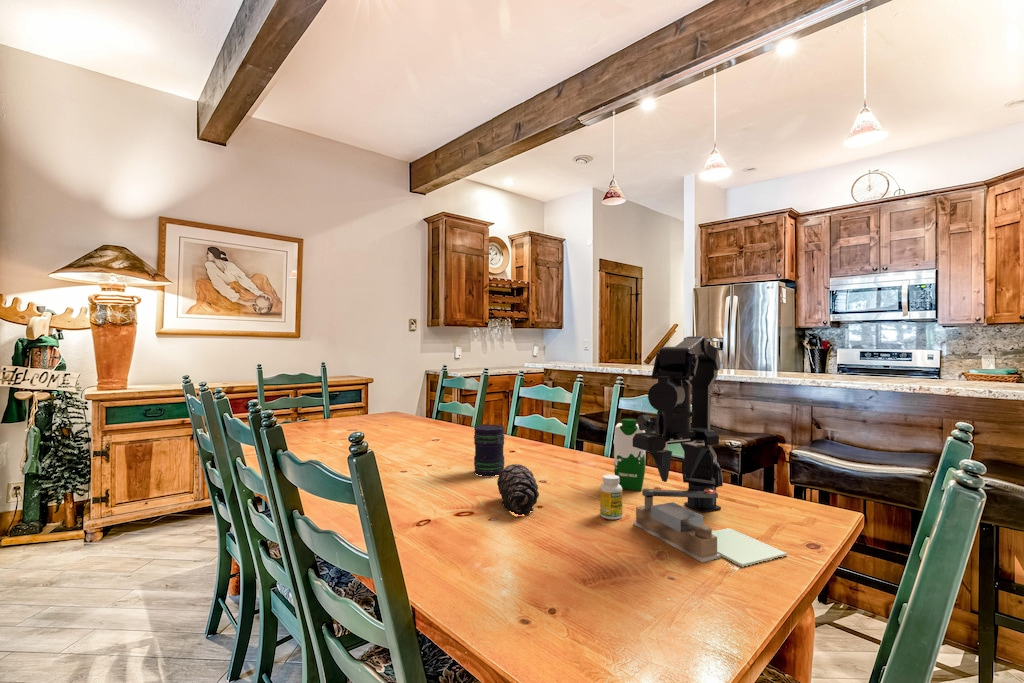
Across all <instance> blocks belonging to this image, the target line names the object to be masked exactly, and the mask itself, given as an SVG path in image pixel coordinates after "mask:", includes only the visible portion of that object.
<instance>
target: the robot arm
mask: <svg viewBox="0 0 1024 683" xmlns="http://www.w3.org/2000/svg"><path fill="white" fill-rule="evenodd" d="M707 338H708V337H705V336H700V335H699V336H696V335H695V336H686V337H684V338H683V340H682V341H681V342H679V343H678V344H677V345H675V346H661V347H660V348H659V350H658V351H656V354H655V360H654V364H653V368H652V374H651V380H657V382H656V383H654V384H653V385H652V386H651V387H650V388H649V389H648V393H647V399H648V402H649V405H650V406H651V407H652V408H653V409H655V410H657V413H656V416H655V417H651V416H650V415H649V414H641V415H638V418H637V419H638V420H637V424H638V427H639V429H640V430H641V431H642V430H645V433H636V434H635V435H634V437H633V447H636V448H639V449H642V450H645V452H648V453H649V454H650V455H651V456H652V459H653V460H654V462H655V465H656V468H657V471H658V473H659V474H658V475H659V476H660V479H661V481H662V482H664V483H666V482H667V481H668V479H669V475H670V474H669V473H670V466H671V463H672V462H671V461H672V456H673V451H671V450H668V445H674V444H675V445H676V444H680V445H681V448H682V450H683V452H684V453H683V454H684V455H683V457H684V458H682V462H681V474H682V481H683V483H687V484H688V485H687V487H688V488H687V491H704V489H714V490H715V491H716V492H717V488H719V487H723V486H724V478H723V472H722V468H721V467H720V464H719V462H718V456H717V453H716V451H715V449H714V448H713V446H717V445H720V436H719V434H718V432H717V431H716V430H712V429H711V395H712V394H711V390H712V385H713V384H714V383H715V381H716V380H717V379H718V375H719V373H718V372H719V371H720V370H721V358H720V355H719V351H718V349H717V348H716V347H715V346H713V345H712V344H710V342H708V339H707ZM683 505H684V506H687V507H689V508H691V509H693V510H696V511H698V512H700V513H706V512H707V513H708V512H711V511H718V510H721V509H722V506H720V505H717V498H696V497H687V501H686V502H684V503H683Z"/></svg>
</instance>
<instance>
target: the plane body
mask: <svg viewBox="0 0 1024 683" xmlns="http://www.w3.org/2000/svg"><path fill="white" fill-rule="evenodd" d="M653 502H654V497H646V496H644V505H642V506H641V505H640V506H636V507H635V521H633V523H632V524H633V525H634V526H635V527H638V528H639V529H641V530H643V531H645V532H646V533H648V534H650V535H652V536H654V537H655V538H657V539H659V540H661V541H662V542H665V543H666V544H668V545H670V546H671V547H673V548H675V549H677V550H679V551H680V552H683V553H684V554H686V555H688V556H690V557H691V558H693V559H695V560H697V561H698V562H700V563H706V562H710V561H715V560H718V559H721V558H722V557H721V555H720V554H718V553H717V537H716V536H714V535H712V531H713V529H712V527H711V526H709V525H705V524H704V525H697V526H695V530H690V531H685V532H679V531H677V530H675V529H673V528H671V527H669V526H667V525H665V524H663V523H661V522H659V521H657V520H655V519H653V518H651V506H653V505H654V503H653ZM714 559H715V560H714Z"/></svg>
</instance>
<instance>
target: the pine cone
mask: <svg viewBox="0 0 1024 683" xmlns="http://www.w3.org/2000/svg"><path fill="white" fill-rule="evenodd" d="M496 481H497V482H496V485H497V486H498V487H497V488H498V492H499V495H501V504H502V505H503V504H504V506H503V508H504V507H505V508H506V509H505V508H504V509H505V510H506V511H507V512H508V511H511V512H514V513H515V514H518V515H522V514H524V515H527V516H530V515H529V513H530V511H533V512H534V506H535V505H536V504H537V502H538V498H539V496H540V493H539V491H538V489H539V485H538V484H537V480H536V478H535V476H534V473H533V472H532V471H531V470H530V469H529V468H528V467H527V466H526V465H525V466H524V465H522V464H518V463H517V464H516V463H514V464H513V463H512V464H508V465H507V466H504V469H503V470H502V471H501V472H500V474H499V476H498V478H497V480H496ZM502 499H503V501H502ZM532 507H533V508H532ZM513 516H514V515H513ZM513 516H512V517H513Z"/></svg>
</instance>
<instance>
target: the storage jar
mask: <svg viewBox="0 0 1024 683" xmlns="http://www.w3.org/2000/svg"><path fill="white" fill-rule="evenodd" d="M504 430H505V427H504V426H503V425H501V424H500V425H499V424H482V425H481V424H480V425H476V426H474V433H473V434H474V435H473V440H474V441H473V444H474V445H475V448H474V456H473V457H474V458H473V461H474V462H473V466H474V474H475V473H476V474H478V475H482V476H495V475H499V474H500V472H501V471H502V470H503V469H504V468H505V456H504V444H505V431H504Z"/></svg>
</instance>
